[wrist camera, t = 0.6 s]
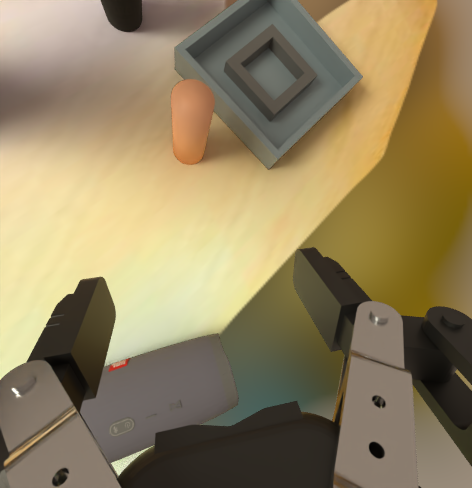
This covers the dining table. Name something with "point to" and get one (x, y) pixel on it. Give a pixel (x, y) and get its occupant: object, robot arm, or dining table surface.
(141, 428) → the bluetooth speaker
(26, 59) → the dining table surface
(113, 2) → the drinking cup
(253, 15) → the tray
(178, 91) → the peg
